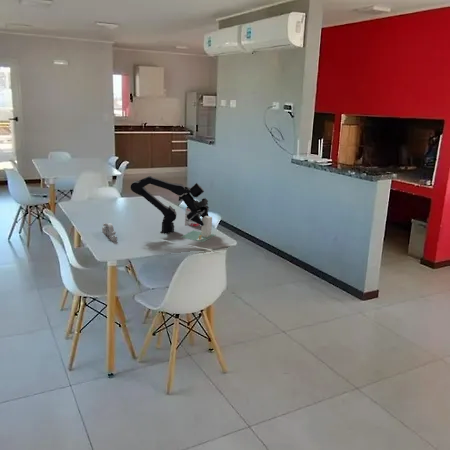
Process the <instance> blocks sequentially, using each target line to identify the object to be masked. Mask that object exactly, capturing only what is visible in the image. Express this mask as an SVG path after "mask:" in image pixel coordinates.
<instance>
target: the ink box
mask: <svg viewBox="0 0 450 450" xmlns="http://www.w3.org/2000/svg"><path fill="white" fill-rule="evenodd" d="M190 212H191V211H190V209H187V206H186V207H185V213H184V214H185V215H184V226H191V227H199V226H200V224H198V223H196V222H194V221H192V220H191V219H192V218H191V219H190V220H188V218H187V215H188V214H189V213H190ZM199 217H200V218H201V216H200V214H199Z"/></svg>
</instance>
